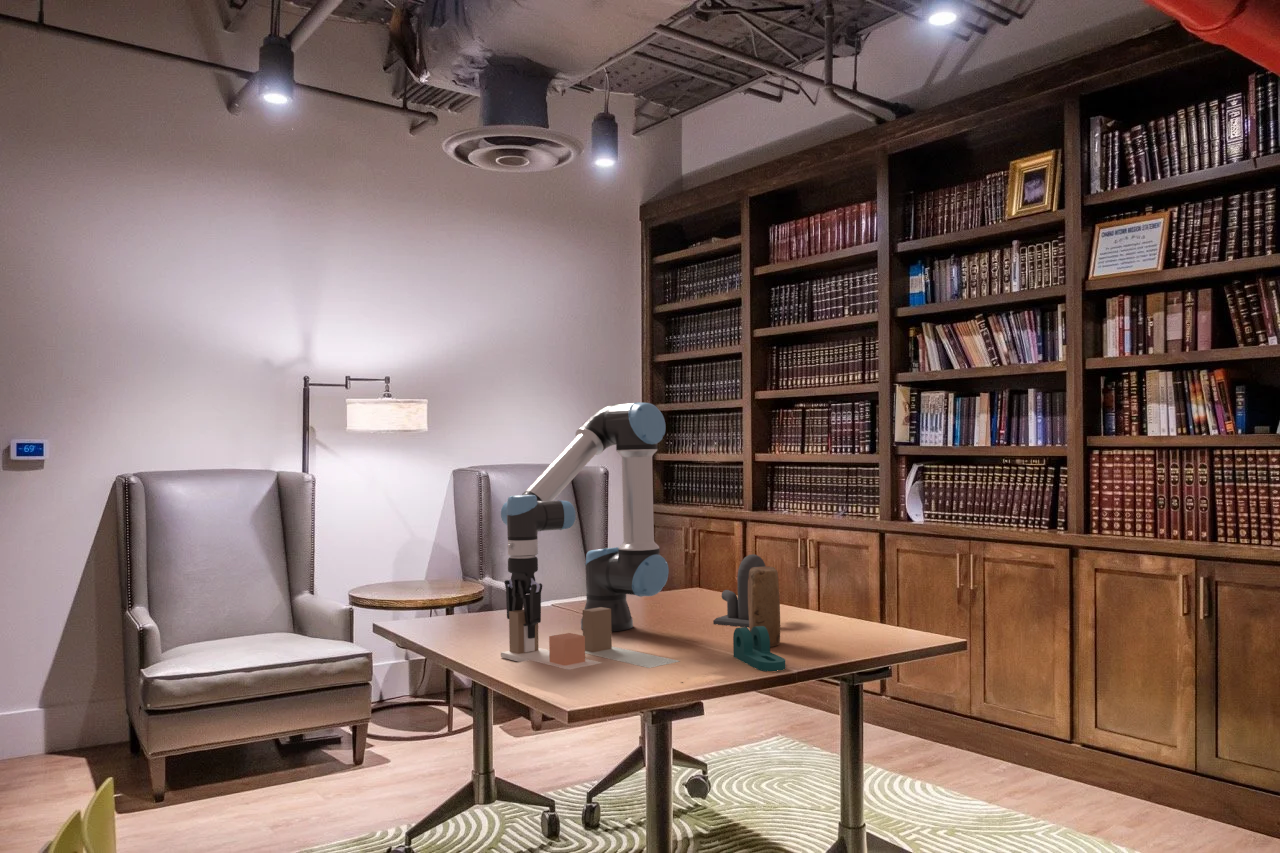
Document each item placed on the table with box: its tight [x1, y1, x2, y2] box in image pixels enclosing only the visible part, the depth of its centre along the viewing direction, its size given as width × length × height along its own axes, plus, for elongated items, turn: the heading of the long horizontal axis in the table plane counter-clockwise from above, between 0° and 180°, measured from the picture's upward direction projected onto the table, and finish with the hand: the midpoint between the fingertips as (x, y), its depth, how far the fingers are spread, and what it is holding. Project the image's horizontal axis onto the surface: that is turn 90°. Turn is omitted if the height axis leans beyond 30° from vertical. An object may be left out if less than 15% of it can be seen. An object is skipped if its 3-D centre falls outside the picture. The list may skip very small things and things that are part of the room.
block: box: [748, 566, 781, 648], centre depth 252 cm, size 11×8×20 cm
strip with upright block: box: [582, 607, 681, 669], centre depth 234 cm, size 28×10×11 cm, turn 41°
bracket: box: [732, 626, 787, 672], centre depth 229 cm, size 18×7×8 cm, turn 17°
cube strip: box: [500, 608, 602, 671], centre depth 233 cm, size 28×10×11 cm, turn 41°
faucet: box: [712, 553, 767, 628], centre depth 285 cm, size 18×16×20 cm
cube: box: [548, 632, 586, 665], centre depth 228 cm, size 6×6×6 cm
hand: (524, 649), depth 242 cm, fingers closed on cube strip, 4 cm apart
